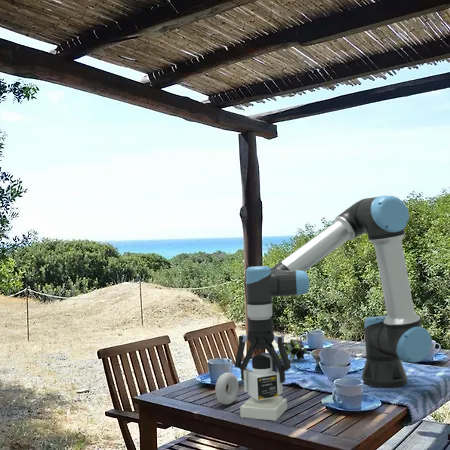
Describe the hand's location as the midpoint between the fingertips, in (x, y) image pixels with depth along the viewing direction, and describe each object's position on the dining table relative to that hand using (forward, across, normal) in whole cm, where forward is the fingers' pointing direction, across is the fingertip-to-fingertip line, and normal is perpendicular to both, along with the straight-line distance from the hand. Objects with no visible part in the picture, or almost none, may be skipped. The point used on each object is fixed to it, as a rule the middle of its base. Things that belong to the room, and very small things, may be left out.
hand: (263, 392), depth 164 cm
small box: (+7, +8, -29) cm, 31 cm away
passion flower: (+7, +9, -64) cm, 65 cm away
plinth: (+6, 0, 0) cm, 6 cm away
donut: (+6, +14, -5) cm, 16 cm away
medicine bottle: (+1, 0, 0) cm, 1 cm away
